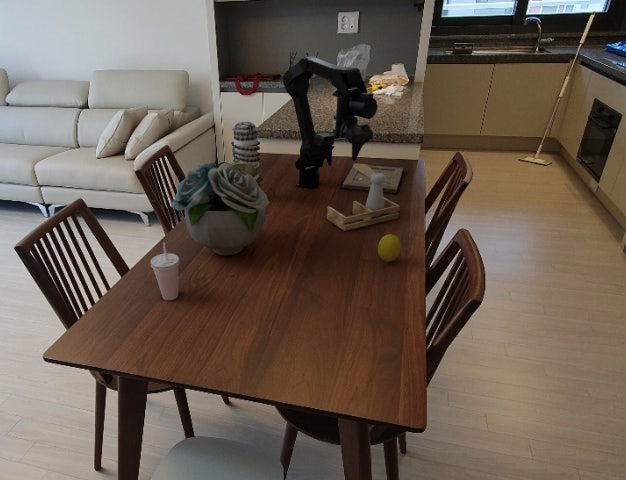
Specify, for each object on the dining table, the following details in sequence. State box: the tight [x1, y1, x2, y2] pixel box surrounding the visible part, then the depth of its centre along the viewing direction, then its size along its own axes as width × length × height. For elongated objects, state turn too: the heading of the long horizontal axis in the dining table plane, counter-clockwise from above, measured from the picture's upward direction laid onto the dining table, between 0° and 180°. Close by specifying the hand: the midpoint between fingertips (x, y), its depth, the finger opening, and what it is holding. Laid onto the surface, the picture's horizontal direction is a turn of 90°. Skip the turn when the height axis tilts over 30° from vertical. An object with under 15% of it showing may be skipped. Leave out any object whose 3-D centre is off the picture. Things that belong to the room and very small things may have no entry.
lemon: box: [377, 233, 402, 263], centre depth 116 cm, size 6×6×8 cm
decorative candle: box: [230, 121, 261, 189], centre depth 150 cm, size 9×9×25 cm
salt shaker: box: [364, 173, 385, 218], centre depth 140 cm, size 6×6×13 cm
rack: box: [326, 196, 401, 232], centre depth 140 cm, size 10×20×4 cm, turn 114°
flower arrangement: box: [170, 160, 271, 256], centre depth 120 cm, size 25×25×24 cm
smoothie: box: [150, 242, 181, 301], centre depth 104 cm, size 6×6×14 cm
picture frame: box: [342, 162, 404, 194], centre depth 169 cm, size 19×2×24 cm
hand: (341, 163), depth 149 cm, fingers open, 9 cm apart
